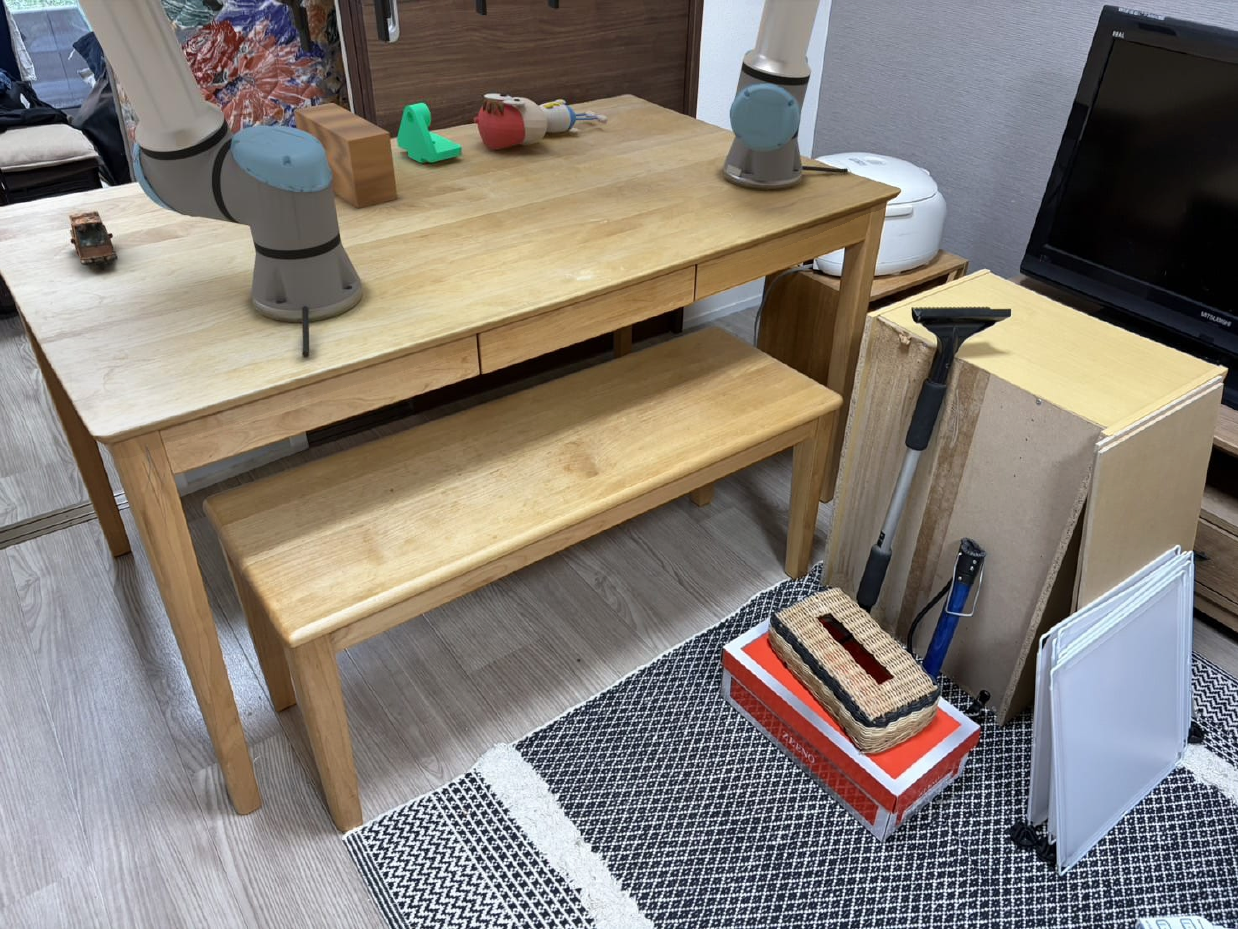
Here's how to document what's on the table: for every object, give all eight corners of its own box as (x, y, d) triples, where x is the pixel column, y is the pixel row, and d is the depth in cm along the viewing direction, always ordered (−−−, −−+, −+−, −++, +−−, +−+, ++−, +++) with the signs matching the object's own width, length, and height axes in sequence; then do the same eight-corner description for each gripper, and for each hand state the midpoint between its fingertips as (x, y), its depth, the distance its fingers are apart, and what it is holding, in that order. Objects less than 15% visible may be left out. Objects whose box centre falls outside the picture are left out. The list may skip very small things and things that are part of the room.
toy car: (108, 240, 149) (95, 198, 145) (131, 265, 142) (117, 222, 137) (65, 249, 146) (50, 207, 141) (86, 276, 138) (71, 232, 134)
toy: (626, 100, 192) (495, 101, 177) (622, 150, 197) (495, 156, 182) (581, 87, 205) (455, 87, 190) (578, 134, 210) (456, 138, 195)
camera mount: (464, 159, 183) (460, 106, 177) (431, 168, 179) (426, 113, 173) (430, 144, 190) (425, 92, 184) (398, 151, 186) (392, 98, 180)
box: (397, 198, 167) (389, 132, 160) (358, 208, 163) (348, 140, 155) (342, 165, 180) (333, 102, 173) (305, 173, 176) (293, 109, 169)
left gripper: (388, -112, 148) (403, 31, 160) (233, -105, 135) (263, 50, 147) (411, -108, 143) (425, 40, 156) (253, -100, 130) (283, 60, 143)
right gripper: (571, -140, 154) (572, 0, 167) (429, -138, 143) (441, 11, 156) (593, -136, 149) (592, 8, 161) (447, -134, 138) (458, 20, 151)
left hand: (346, 45), depth 152 cm, fingers open, 13 cm apart
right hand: (518, 10), depth 159 cm, fingers open, 13 cm apart
